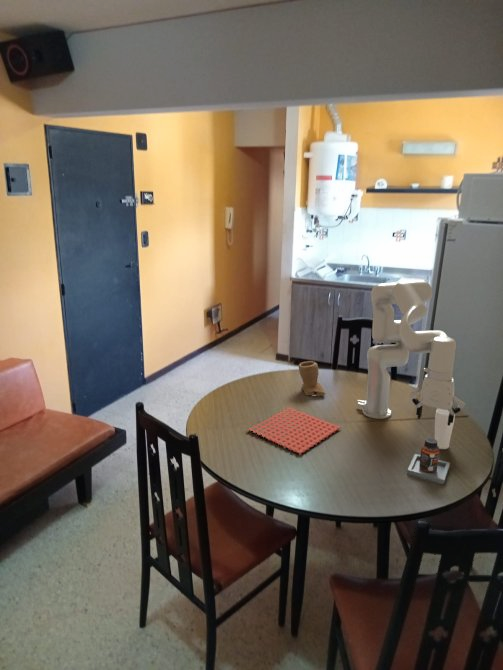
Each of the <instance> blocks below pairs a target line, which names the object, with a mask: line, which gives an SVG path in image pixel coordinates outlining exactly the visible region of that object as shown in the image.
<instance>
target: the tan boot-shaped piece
mask: <svg viewBox="0 0 503 670" xmlns="http://www.w3.org/2000/svg"><path fill="white" fill-rule="evenodd" d="M298 373H299V375H300V377H301V381H302V384H301V388H302V390H303V392H304V393H305V395H307V396H309V395H316V396H318V397H322V396H325V395H326V391H325V389H324V388H323V386H322V384H321V383H319V382H318V377H319V366H318V363H317V362H315V361H313V360H308V361H303V362H300V363H299V364H298Z"/></svg>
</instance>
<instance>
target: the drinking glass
mask: <svg viewBox="0 0 503 670" xmlns="http://www.w3.org/2000/svg"><path fill="white" fill-rule="evenodd" d="M449 413H450V412H449V411H448V410H444V409H439V408H436V410H435V415H434V416H435V417H434V439H436V440H437V446H438V447H439V450H448V449H449V447H450V441H451V437H452V433H453V428H454V424H455V418H456V414H454V419H453V423H451V424H450V426H448V425H447V424H448V417H449Z"/></svg>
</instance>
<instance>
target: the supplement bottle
mask: <svg viewBox="0 0 503 670" xmlns="http://www.w3.org/2000/svg"><path fill="white" fill-rule="evenodd" d="M419 455H420V464H419V467H420V469H421V470H423V471H425V472H428V473H433V472H436V471H437V466H438V460H439V457H440V449H439V447H438V446H437V440H436V439H435V437H434V438H433V437H426V438H425V439H424V442H423V443H422V444H421V446H420V454H419Z"/></svg>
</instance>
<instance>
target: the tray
mask: <svg viewBox="0 0 503 670" xmlns="http://www.w3.org/2000/svg"><path fill="white" fill-rule="evenodd" d="M420 455H421V454H417V453H415V454H414V455H413V457H412V460H411V462H410V464H409V466H408V468H407V474H406V475H407V476H409V477H413V478H417V479H420V480H422V481H423V480H424V481H427V482H430V483H435V484H439V485H442V486H444V485H445V482H446V479H447V477H448V473H449V469H450V465H451V462H449V461H448V462H447V461H444V460H440V459H438V466H437V471H436V472H433V473H428V472H425V471H423V470H421V469H420V467H419V464H420Z"/></svg>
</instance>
